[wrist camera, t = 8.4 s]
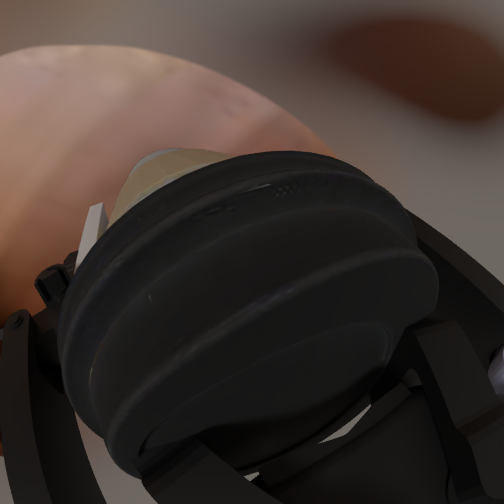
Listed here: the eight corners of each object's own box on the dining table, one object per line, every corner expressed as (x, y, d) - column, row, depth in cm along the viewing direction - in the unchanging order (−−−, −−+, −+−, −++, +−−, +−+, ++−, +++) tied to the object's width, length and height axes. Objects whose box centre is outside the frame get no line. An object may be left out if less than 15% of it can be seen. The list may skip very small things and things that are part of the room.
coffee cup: (256, 214, 20) (422, 364, 9) (145, 281, 19) (217, 495, 7) (206, 92, 14) (478, 104, 3) (68, 172, 13) (-45, 420, 1)
